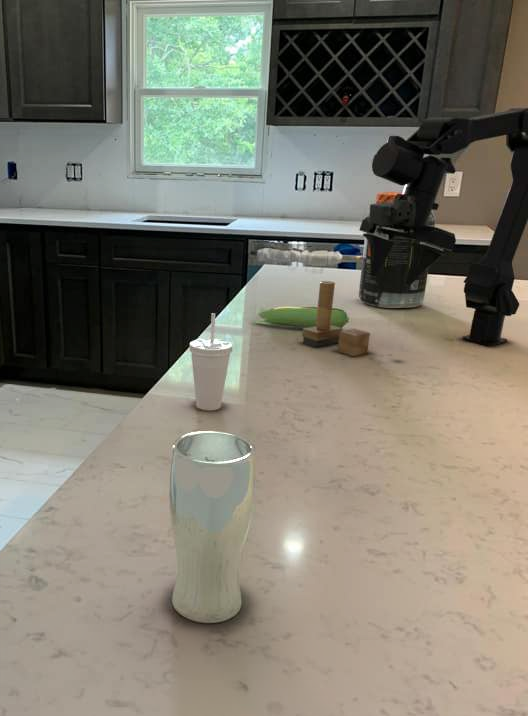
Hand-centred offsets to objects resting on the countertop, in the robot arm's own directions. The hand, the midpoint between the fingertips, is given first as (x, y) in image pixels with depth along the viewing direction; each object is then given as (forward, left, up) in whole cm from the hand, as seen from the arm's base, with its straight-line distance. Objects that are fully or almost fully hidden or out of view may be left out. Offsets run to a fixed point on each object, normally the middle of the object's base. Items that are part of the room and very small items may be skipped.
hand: (389, 280), depth 133 cm
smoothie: (+45, +4, -14) cm, 47 cm away
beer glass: (+77, +43, -14) cm, 89 cm away
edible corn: (-2, -23, -14) cm, 27 cm away
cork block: (+3, -4, -14) cm, 15 cm away
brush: (+3, -12, -14) cm, 19 cm away
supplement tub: (-40, -29, -14) cm, 51 cm away
